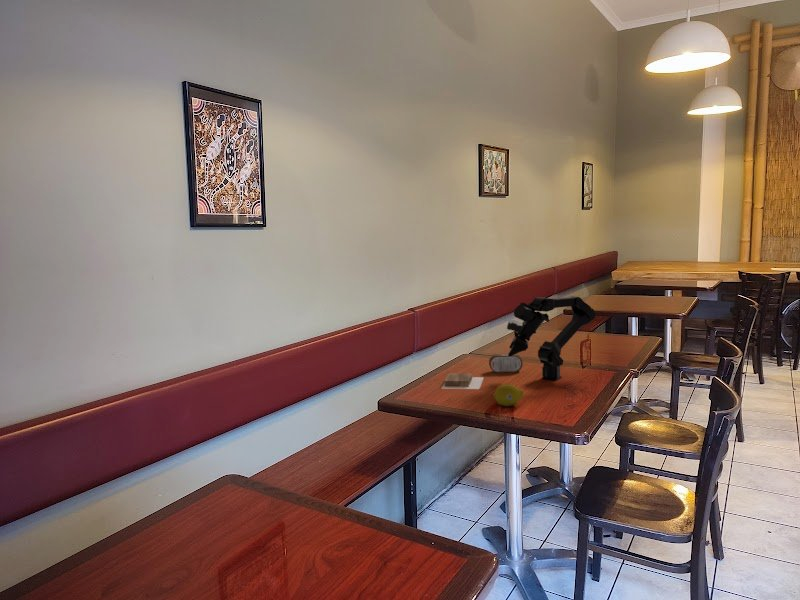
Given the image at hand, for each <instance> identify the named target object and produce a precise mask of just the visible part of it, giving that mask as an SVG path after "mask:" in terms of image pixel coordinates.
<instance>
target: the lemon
mask: <svg viewBox="0 0 800 600" xmlns="http://www.w3.org/2000/svg"><path fill="white" fill-rule="evenodd" d="M492 396H493V397H494V399H495V401H496V403H497V404H498V405H500V406H503V407H511V406H514V405H516V404H517V403H518V402H519V401H520V400H521V399H522V398H523V396H524V390H523V389H521V388H520V387H517V386H515V385H513V384H506V383H504V384H502V385H500V386H498V387H497V388H496V389H495V392H494V393H493V395H492Z"/></svg>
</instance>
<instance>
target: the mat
mask: <svg viewBox="0 0 800 600" xmlns="http://www.w3.org/2000/svg"><path fill="white" fill-rule="evenodd" d="M483 381H484V377H483V376H481V377H480V376H478V377H476V376H475V377H474V376H472V380H471V383H470V385H469V387H450V386H445V381H444V383H443V384H442V386H441V388H440V389H446V390H447V389H448V390H449V389H450V390H451V389H452V390H453V389H455V390H480V389H481V387H482V383H483Z"/></svg>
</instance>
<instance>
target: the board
mask: <svg viewBox="0 0 800 600" xmlns="http://www.w3.org/2000/svg"><path fill="white" fill-rule="evenodd" d="M472 377H473V373H451V372H450V373H448V375H447V376H446V378H445V380H444V382H445V386H450V387H469V385H470V383H471V380H472Z"/></svg>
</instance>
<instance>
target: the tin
mask: <svg viewBox="0 0 800 600" xmlns="http://www.w3.org/2000/svg"><path fill="white" fill-rule="evenodd" d="M508 354H509V353H496V354H493V355H491V357H490V358H489V359H488V365H489V368H490V370H492V372H494V373H518V372H519V371H521V369H522V368H523V366H524V365H523V363H524V362H523V359H522V357H521V356H520V355H519V354H518V353H517V354H514V355H512V356H508Z"/></svg>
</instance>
